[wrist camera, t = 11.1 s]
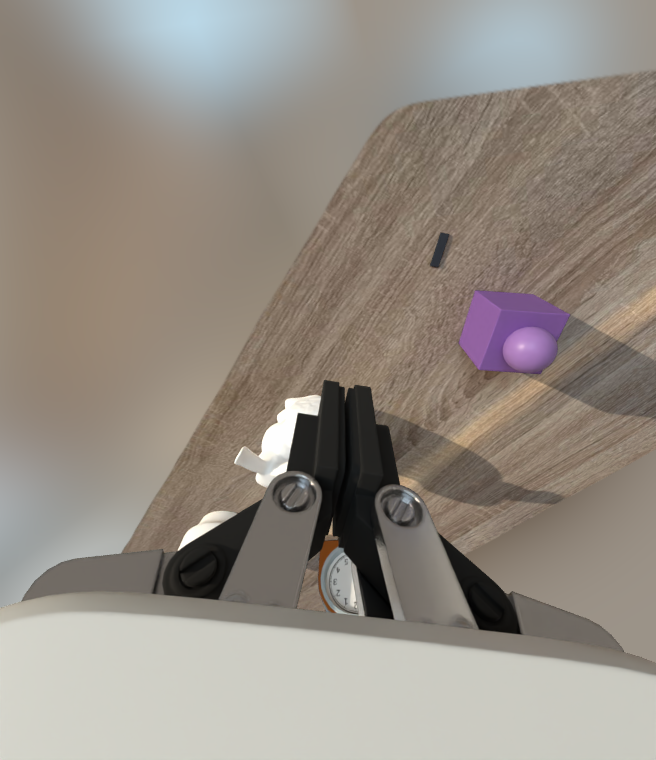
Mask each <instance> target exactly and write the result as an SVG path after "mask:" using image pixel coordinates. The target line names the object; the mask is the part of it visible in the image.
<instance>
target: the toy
mask: <svg viewBox="0 0 656 760" xmlns="http://www.w3.org/2000/svg"><path fill="white" fill-rule="evenodd" d="M569 316H570V314H568V313H566V312H564V311H562V310H561V309H559V308H557V307H555V306H553V305H552V304H550V303H548V302H546V301H544V300H542V299H541V298H539V297H537V296H535V295H533V294H520V293H505V292H491V291H477V290H476V291H475V293H474V296H473V299H472V303H471V306H470V309H469V312H468V315H467V319H466V322H465V325H464V328H463V331H462V334H461V338H460V341H459V344H460V346H461V347H462V348H463V350H464V351H465V352H466V354H467V355H468V356H469V358H470V359H471V360H472V362H473V363H474V364H475V365H476V367H477V368H478V369H479V370H488V371H503V372H517V373H531V374H541V372H542V370H543V369H545V368H546V367H548V366H549V365H550V364H551V363H552V362H553V361H554V359H555V357H556V355H557V350H558V348H557V340H558V338H559V336H560V334H561V332H562V330H563V328H564V326H565V324H566V322H567V320H568V318H569Z"/></svg>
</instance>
